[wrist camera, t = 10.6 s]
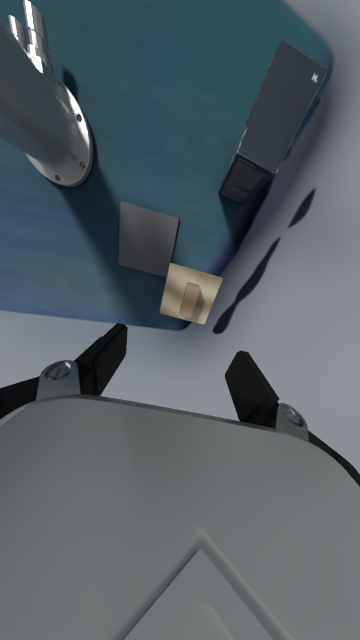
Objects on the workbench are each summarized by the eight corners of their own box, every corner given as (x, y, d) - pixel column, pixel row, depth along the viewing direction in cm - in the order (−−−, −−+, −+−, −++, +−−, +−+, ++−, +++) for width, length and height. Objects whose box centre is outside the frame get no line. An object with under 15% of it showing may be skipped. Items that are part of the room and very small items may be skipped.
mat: (121, 202, 26) (120, 200, 25) (179, 219, 26) (179, 218, 26) (119, 264, 31) (118, 264, 30) (167, 277, 31) (167, 277, 31)
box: (239, 135, 21) (282, 33, 12) (268, 152, 22) (331, 68, 12) (216, 194, 24) (236, 151, 15) (242, 207, 25) (277, 174, 16)
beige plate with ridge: (170, 262, 26) (167, 263, 21) (221, 277, 27) (228, 281, 22) (160, 311, 30) (155, 320, 26) (203, 322, 31) (206, 333, 27)
